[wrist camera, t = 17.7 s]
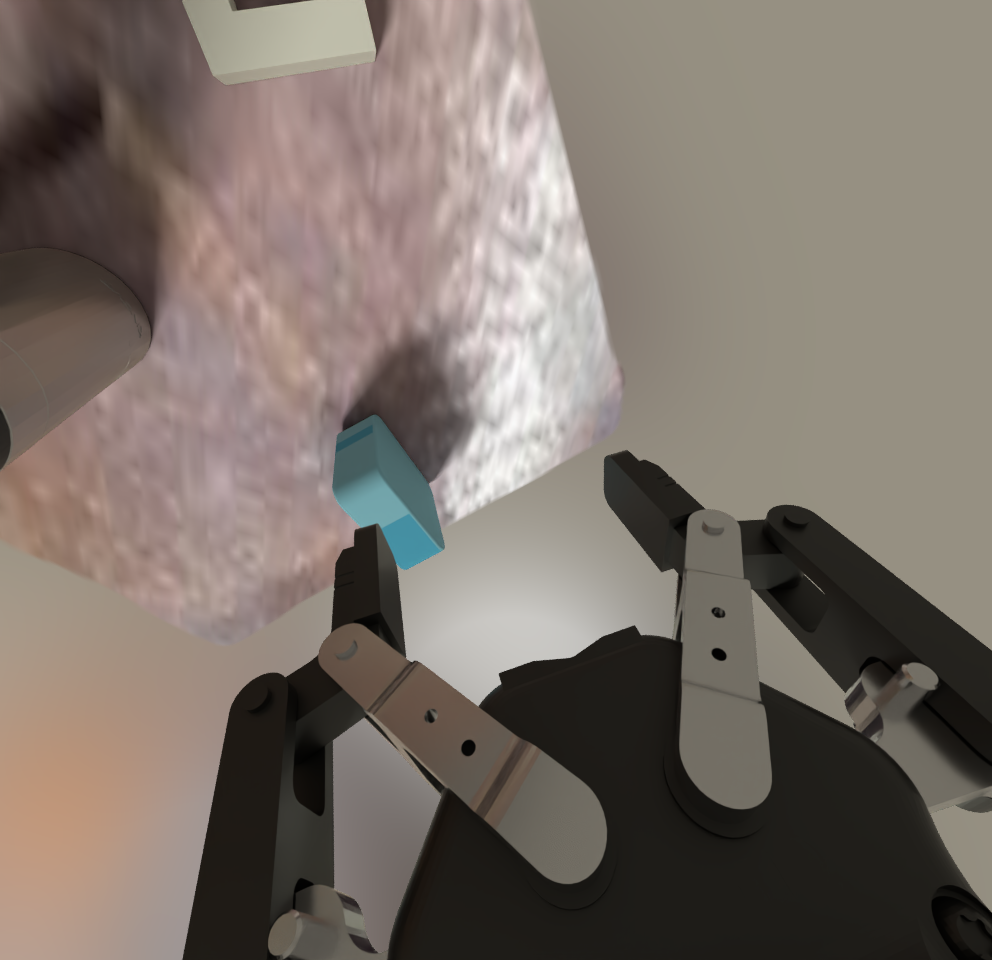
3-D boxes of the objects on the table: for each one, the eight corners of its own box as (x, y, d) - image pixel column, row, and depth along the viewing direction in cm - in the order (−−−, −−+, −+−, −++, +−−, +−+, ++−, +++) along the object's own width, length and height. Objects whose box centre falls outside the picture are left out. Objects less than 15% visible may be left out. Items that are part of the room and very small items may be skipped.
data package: (336, 429, 42) (329, 497, 33) (374, 408, 42) (378, 471, 33) (398, 503, 50) (408, 577, 40) (431, 486, 50) (448, 555, 40)
